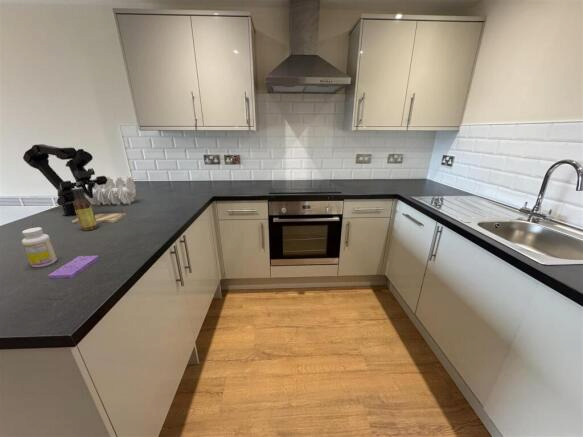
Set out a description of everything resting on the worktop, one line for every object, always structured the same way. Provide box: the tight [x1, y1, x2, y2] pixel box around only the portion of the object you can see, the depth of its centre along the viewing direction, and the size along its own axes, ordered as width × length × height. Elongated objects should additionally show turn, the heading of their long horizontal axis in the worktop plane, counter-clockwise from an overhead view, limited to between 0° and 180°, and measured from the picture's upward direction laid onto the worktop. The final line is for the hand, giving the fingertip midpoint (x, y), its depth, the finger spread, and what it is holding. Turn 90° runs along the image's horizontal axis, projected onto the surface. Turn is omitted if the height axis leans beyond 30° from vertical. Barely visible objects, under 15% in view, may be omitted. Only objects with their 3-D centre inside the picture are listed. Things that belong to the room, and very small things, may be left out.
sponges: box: [48, 255, 100, 279], centre depth 82 cm, size 7×13×2 cm, turn 3°
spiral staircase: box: [84, 176, 137, 206], centre depth 152 cm, size 18×18×25 cm
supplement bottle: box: [21, 226, 58, 268], centre depth 83 cm, size 7×7×13 cm
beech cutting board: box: [71, 212, 127, 224], centre depth 128 cm, size 20×11×1 cm, turn 95°
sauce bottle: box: [71, 187, 98, 232], centre depth 112 cm, size 7×6×20 cm
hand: (92, 198), depth 123 cm, fingers closed
